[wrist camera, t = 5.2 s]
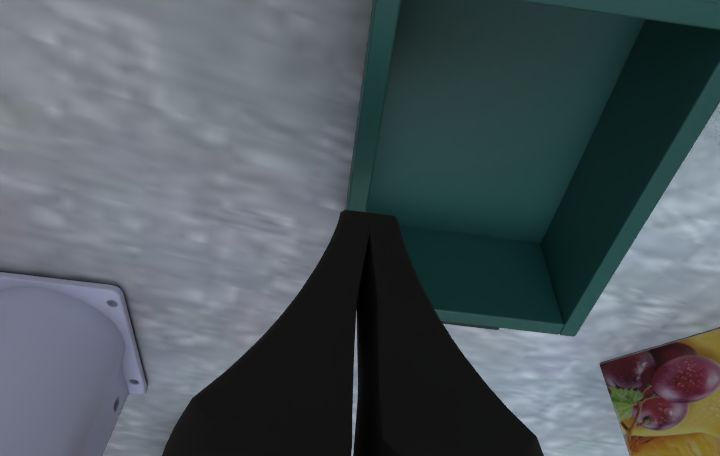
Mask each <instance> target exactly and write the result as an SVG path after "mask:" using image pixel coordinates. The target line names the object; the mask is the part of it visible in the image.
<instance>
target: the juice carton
mask: <svg viewBox="0 0 720 456" xmlns="http://www.w3.org/2000/svg"><path fill="white" fill-rule="evenodd" d="M600 367H601V370H602V373H603V376H604V379H605V382H606V385H607V388H608V391H609V394H610V397H611V400H612V403H613V406H614V409H615V412H616V415H617V418H618V421H619V424H620V427H621V430H622V433H623V436H624V439H625V442H626V445H627V448H628V451H629V454H630V456H720V328H719V329H716V330H712V331H709V332H706V333H702V334H699V335H695V336H692V337H688V338H685V339H682V340H678V341H675V342H671V343H668V344H665V345H661V346H658V347H654V348H651V349H648V350H644V351H641V352H637V353H634V354H630V355H627V356H624V357H620V358H617V359H613V360H610V361H607V362H603V363H600Z"/></svg>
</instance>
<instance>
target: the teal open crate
mask: <svg viewBox="0 0 720 456" xmlns="http://www.w3.org/2000/svg"><path fill="white" fill-rule="evenodd" d="M719 103H720V0H373V4H372V11H371V19H370V26H369V34H368V42H367V49H366V57H365V65H364V72H363V80H362V88H361V95H360V103H359V110H358V118H357V126H356V133H355V141H354V149H353V156H352V164H351V171H350V179H349V187H348V194H347V202H346V210H352V211H360V212H368V213H376V214H384V215H392V216H395V217H396V218H397V220H398V223H399V227H400V231H401V234H402V238H403V241H404V244H405V246H406V249H407V252H408V255H409V257H410V260H411V262H412V265H413V267H414V269H415V271H416V274H417V276H418V278H419V280H420V283H421V285H422V287H423V289H424V291H425V293H426V295H427V297H428V299H429V300H430V302H431V304H432V306H433V308H434V310H435V311H436V313H437V315H438V317H439V318H440V320H441V322H442V323H443V324H451V325H460V326H468V327H477V328H485V329H494V330H498V329H499V328H508V329H516V330H525V331H533V332H542V333H550V334H559V333H560V335H566V336H575V335H576V334H577V332H578V330H579V329H580V327H581V326H582V324H583V322H584V321H585V319H586V317H587V316H588V314H589V313H590V311H591V309H592V308H593V306H594V305H595V303H596V301H597V300H598V298H599V296H600V295H601V293H602V292H603V290H604V288H605V287H606V285H607V284H608V282H609V280H610V279H611V277H612V275H613V274H614V272H615V271H616V269H617V267H618V266H619V264H620V263H621V261H622V259H623V258H624V256H625V254H626V253H627V251H628V250H629V248H630V246H631V245H632V243H633V242H634V240H635V238H636V237H637V235H638V233H639V232H640V230H641V229H642V227H643V225H644V224H645V222H646V221H647V219H648V217H649V216H650V214H651V212H652V211H653V209H654V208H655V206H656V204H657V203H658V201H659V200H660V198H661V196H662V195H663V193H664V191H665V190H666V188H667V187H668V185H669V183H670V182H671V180H672V178H673V177H674V175H675V174H676V172H677V170H678V169H679V167H680V166H681V164H682V162H683V161H684V159H685V157H686V156H687V154H688V153H689V151H690V149H691V148H692V146H693V145H694V143H695V141H696V140H697V138H698V136H699V135H700V133H701V132H702V130H703V128H704V127H705V125H706V124H707V122H708V120H709V119H710V117H711V115H712V114H713V112H714V111H715V109H716V107H717V106H718V104H719ZM356 311H357V308H356Z"/></svg>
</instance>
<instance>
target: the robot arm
mask: <svg viewBox="0 0 720 456" xmlns="http://www.w3.org/2000/svg"><path fill="white" fill-rule="evenodd" d="M356 308H357V349H358V403H357V416H356V428H355V441H354V453H353V456H544V455H543V453H542V450H541V447H540V444H539V442H538V439H537V437H536V436H535V435H534V434H533V433H532V432H531V431H530V430H529V429H528V428H527V427H526V426H525V425H524V424H523V423H522V422H521V421H520V420H519V419H518V418H517V417H516V416H515V415H514V414H513V413H512V412H511V411H510V410H509V409H508V408H507V407H506V406H505V405H504V404H503V403H502V401H501V400H500V399H499V398H498V397H497V396H496V395H495V393H494V392H493V391H492V390H491V389H490V388H489V387H488V386H487V384H486V383H485V382H484V380H483V379H482V378H481V377H480V375H479V374H478V373H477V372H476V370H475V369H474V368H473V367H472V365H471V364H470V363H469V361H468V360H467V359H466V358H465V356H464V355H463V354H462V352H461V351H460V349H459V348H458V346H457V345H456V343H455V342H454V341H453V339H452V338H451V336H450V335H449V333H448V331H447V330H446V328H445V327H444V325H443V323H442V322H441V320H440V318H439V317H438V315H437V313H436V311H435V310H434V308H433V306H432V304H431V302H430V300H429V299H428V297H427V295H426V293H425V291H424V289H423V287H422V285H421V283H420V280H419V278H418V276H417V274H416V271H415V269H414V267H413V265H412V262H411V260H410V257H409V255H408V252H407V249H406V246H405V244H404V241H403V238H402V234H401V231H400V227H399V223H398V220H397V218H396V217H395V216H392V215H384V214H376V213H368V212H360V211H352V210H344V211H343V212H341V213H340V217H339V221H338V224H337V227H336V230H335V232H334V234H333V236H332V239H331V241H330V243H329V245H328V247H327V249H326V250H325V252H324V254H323V256H322V258H321V259H320V261H319V263H318V265H317V266H316V268H315V270H314V271H313V273H312V274H311V276H310V277H309V279H308V280H307V282H306V283H305V285H304V286H303V288H302V289H301V290H300V292H299V293H298V295H297V296H296V297H295V299H294V300H293V301H292V303H291V304H290V305H289V306H288V308H287V309H286V310H285V311H284V313H283V314H282V315H281V316H280V317H279V319H278V320H277V321H276V322H275V323H274V324H273V325H272V326H271V327H270V329H269V330H268V331H267V332H266V333H265V334H264V335H263V336H262V337H261V338H260V339H259V340H258V341H257V342H256V344H255V345H254V346H252V347H251V348H250V349H249V350H248V351H247V352H246V353H245V354H244V355H243V356H242V357H241V358H240V359H239V360H238V361H236V362H235V363H234V364H233V365H232V366H231V367H230V368H229V369H228V370H227V371H225V372H224V373H223V374H222V375H221V376H219V377H218V378H217V379H216V380H214V381H213V382H212V383H211V384H209V385H208V386H207V387H206V388H204V389H203V390H202V391H201V392H199V393H198V394H197V395H196V396H194V397H193V398H192V400H191V401H190V403H189V404H188V406H187V407H186V409H185V411H184V412H183V414H182V415H181V417H180V419H179V420H178V422H177V424H176V426H175V427H174V429H173V431H172V433H171V435H170V438H169V440H168V442H167V444H166V446H165V449H164V452H163V455H162V456H351V449H352V403H353V367H354V342H355V322H356ZM146 390H147V384H146V380H145V376H144V373H143V369H142V365H141V361H140V357H139V353H138V349H137V345H136V341H135V337H134V333H133V330H132V326H131V322H130V318H129V314H128V310H127V306H126V302H125V298H124V294H123V292H122V290H121V289H120V288H119V287H117V286H114V285H108V284H99V283H91V282H82V281H74V280H65V279H56V278H48V277H39V276H31V275H22V274H14V273H5V272H0V456H102V455H103V453H104V450H105V448H106V445H107V443H108V441H109V438H110V436H111V434H112V431H113V429H114V427H115V424H116V422H117V419H118V417H119V415H120V412H121V410H122V408H123V405H124V403H125V400H126V398H127V396H128V394H131V395H143V394H145V393H146Z"/></svg>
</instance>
